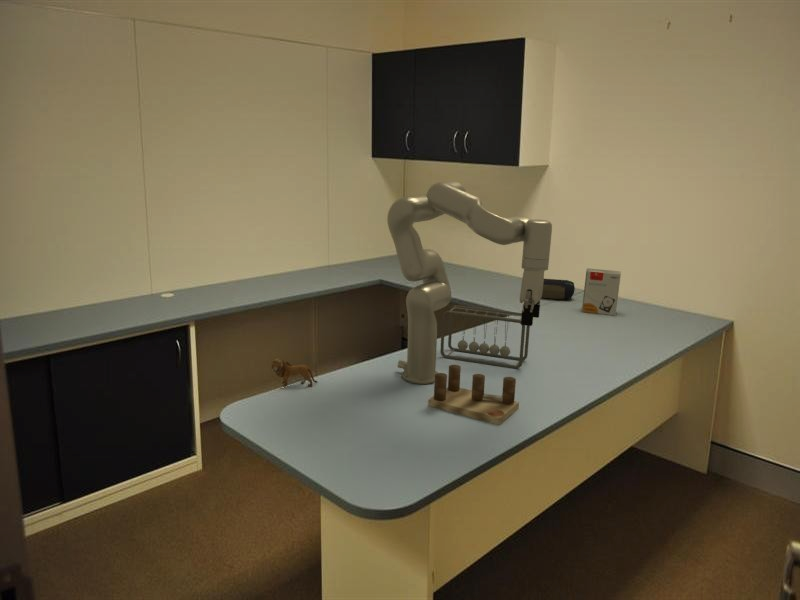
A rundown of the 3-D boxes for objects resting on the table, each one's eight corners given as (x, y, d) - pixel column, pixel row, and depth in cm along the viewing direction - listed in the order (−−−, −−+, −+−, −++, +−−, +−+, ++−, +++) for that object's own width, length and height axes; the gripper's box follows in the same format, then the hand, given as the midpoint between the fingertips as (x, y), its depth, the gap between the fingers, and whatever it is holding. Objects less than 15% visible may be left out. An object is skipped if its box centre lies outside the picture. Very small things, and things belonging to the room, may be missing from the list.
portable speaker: (523, 298, 329) (524, 279, 326) (523, 294, 338) (525, 275, 336) (574, 302, 324) (576, 282, 322) (573, 297, 333) (575, 278, 331)
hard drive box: (581, 312, 305) (585, 270, 300) (582, 308, 312) (586, 267, 307) (616, 315, 300) (620, 273, 296) (615, 311, 307) (620, 270, 303)
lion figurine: (271, 389, 202) (270, 361, 200) (270, 383, 207) (270, 356, 205) (318, 386, 205) (318, 360, 203) (317, 380, 210) (316, 354, 208)
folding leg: (514, 399, 193) (516, 377, 191) (513, 404, 189) (515, 381, 187) (472, 395, 195) (473, 373, 193) (470, 399, 192) (472, 377, 190)
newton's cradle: (439, 357, 236) (441, 310, 232) (448, 349, 245) (450, 304, 241) (521, 370, 225) (525, 321, 221) (527, 361, 235) (531, 313, 231)
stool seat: (428, 405, 193) (429, 375, 190) (449, 391, 204) (451, 362, 202) (499, 424, 181) (502, 393, 179) (518, 408, 193) (520, 378, 190)
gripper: (528, 257, 194) (523, 312, 198) (515, 267, 178) (510, 326, 182) (553, 259, 191) (548, 315, 195) (542, 270, 175) (537, 330, 180)
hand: (530, 320), depth 189 cm, fingers open, 9 cm apart
